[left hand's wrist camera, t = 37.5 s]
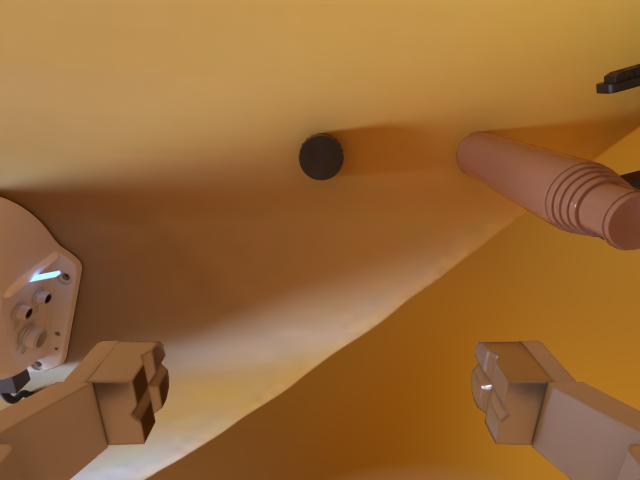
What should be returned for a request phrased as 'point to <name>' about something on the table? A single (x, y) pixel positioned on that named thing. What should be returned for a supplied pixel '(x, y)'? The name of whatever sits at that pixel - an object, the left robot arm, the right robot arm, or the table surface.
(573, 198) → the bottle
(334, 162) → the cap
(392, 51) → the table surface
